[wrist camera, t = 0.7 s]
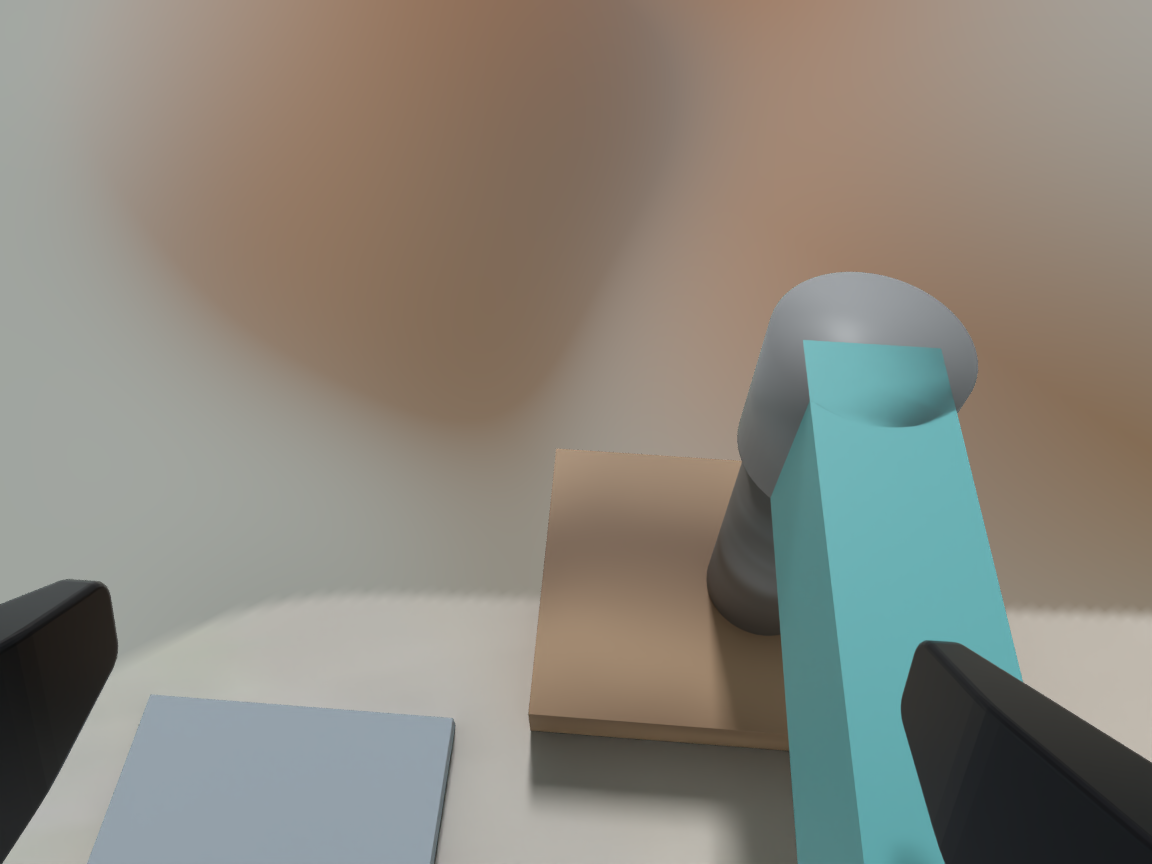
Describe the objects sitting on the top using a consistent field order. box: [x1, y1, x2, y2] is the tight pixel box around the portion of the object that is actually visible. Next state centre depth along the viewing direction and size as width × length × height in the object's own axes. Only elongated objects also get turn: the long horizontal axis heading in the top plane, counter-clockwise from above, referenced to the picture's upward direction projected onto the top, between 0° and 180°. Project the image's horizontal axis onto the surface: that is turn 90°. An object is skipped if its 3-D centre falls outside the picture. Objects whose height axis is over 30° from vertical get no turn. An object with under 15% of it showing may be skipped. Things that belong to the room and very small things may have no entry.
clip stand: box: [528, 449, 789, 751], centre depth 20 cm, size 8×12×8 cm, turn 86°
